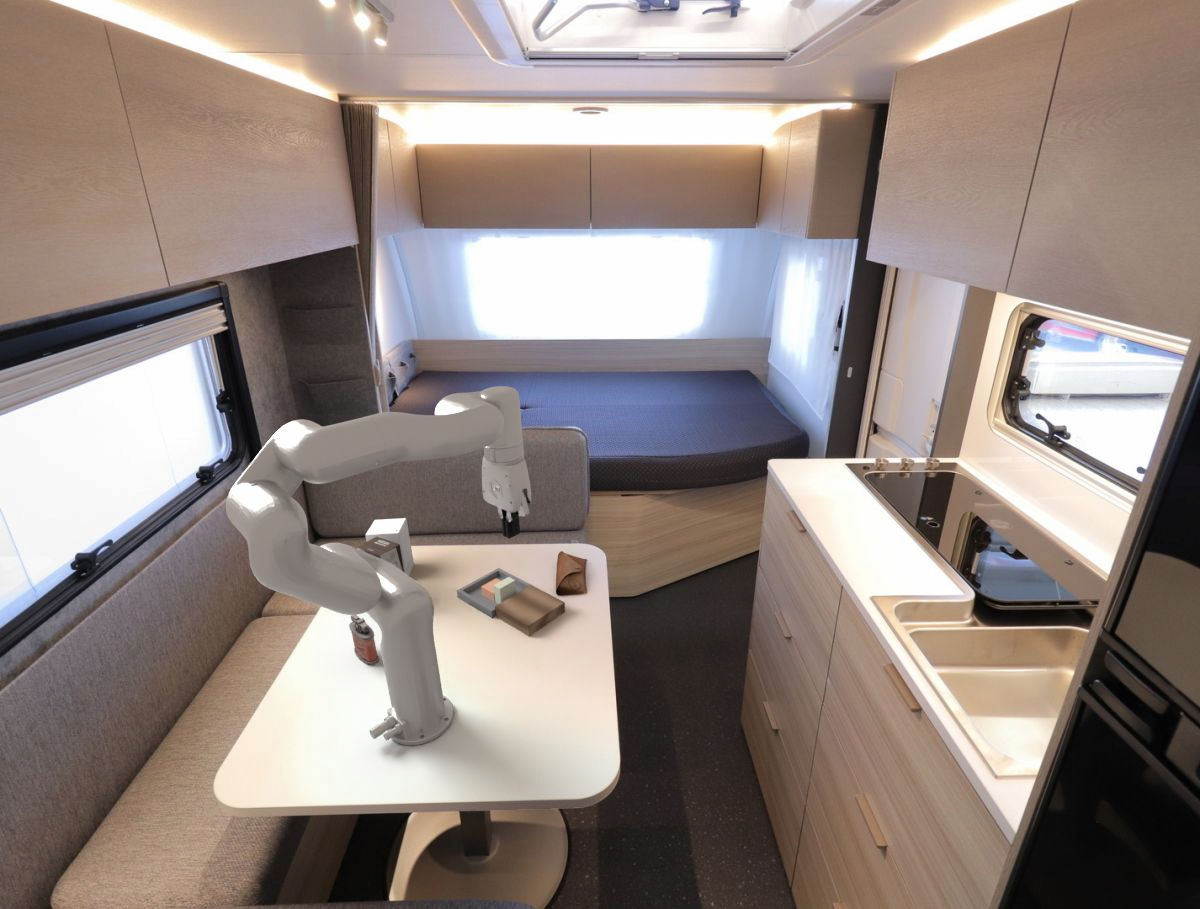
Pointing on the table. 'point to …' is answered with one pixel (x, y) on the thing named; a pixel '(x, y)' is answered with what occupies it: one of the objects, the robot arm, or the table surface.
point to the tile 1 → (489, 589)
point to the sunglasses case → (570, 575)
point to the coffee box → (384, 551)
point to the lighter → (363, 641)
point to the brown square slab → (530, 610)
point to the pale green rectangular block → (504, 589)
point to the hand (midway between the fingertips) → (511, 534)
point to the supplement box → (394, 537)
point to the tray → (480, 602)
